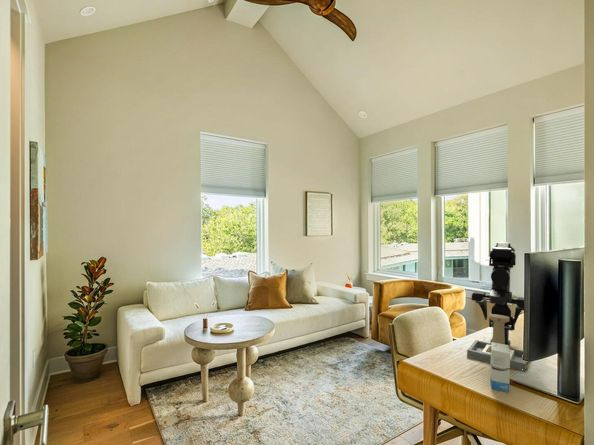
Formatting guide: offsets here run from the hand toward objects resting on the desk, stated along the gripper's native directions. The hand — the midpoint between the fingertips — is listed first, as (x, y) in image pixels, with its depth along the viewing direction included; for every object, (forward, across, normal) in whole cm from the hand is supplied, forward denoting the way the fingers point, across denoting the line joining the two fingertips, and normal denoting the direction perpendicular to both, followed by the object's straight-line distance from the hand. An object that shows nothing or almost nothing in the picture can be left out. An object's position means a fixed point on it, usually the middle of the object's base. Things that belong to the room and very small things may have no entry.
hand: (499, 322), depth 127 cm
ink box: (+13, +4, -26) cm, 29 cm away
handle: (+12, 0, -2) cm, 13 cm away
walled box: (+13, 0, -2) cm, 13 cm away
